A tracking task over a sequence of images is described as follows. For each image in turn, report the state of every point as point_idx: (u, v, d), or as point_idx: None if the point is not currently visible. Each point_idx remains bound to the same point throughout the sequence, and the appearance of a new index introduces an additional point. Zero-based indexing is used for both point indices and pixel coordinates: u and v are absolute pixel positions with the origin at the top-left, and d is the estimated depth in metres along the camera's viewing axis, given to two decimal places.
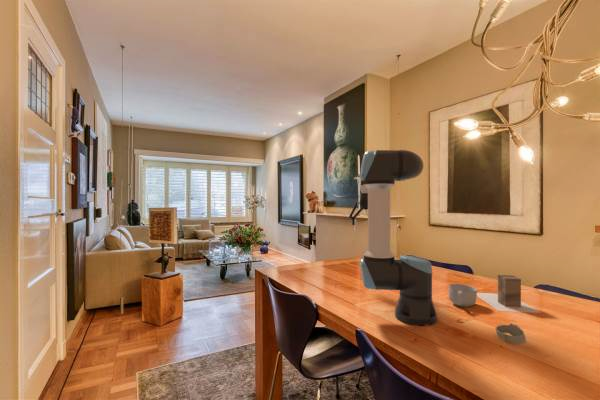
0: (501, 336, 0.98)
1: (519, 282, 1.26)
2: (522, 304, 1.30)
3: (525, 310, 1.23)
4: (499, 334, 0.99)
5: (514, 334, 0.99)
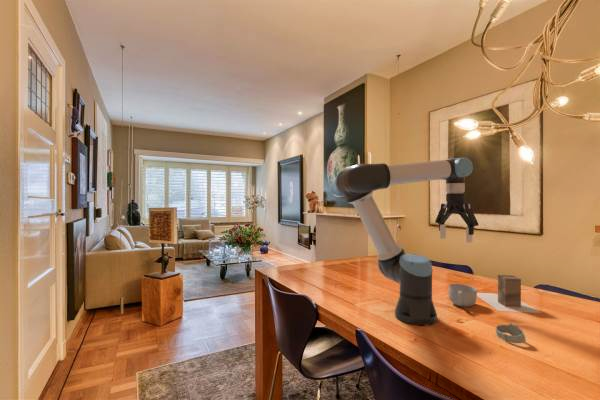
0: (501, 336, 0.99)
1: (519, 282, 1.26)
2: (522, 304, 1.30)
3: (525, 310, 1.23)
4: (499, 334, 0.99)
5: (514, 334, 0.99)
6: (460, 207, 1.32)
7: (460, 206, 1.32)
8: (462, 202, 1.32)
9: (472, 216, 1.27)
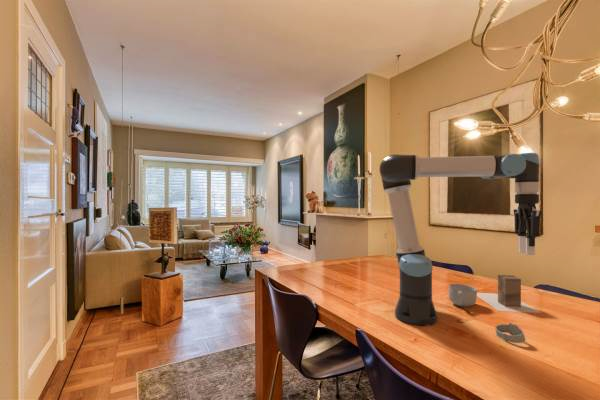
0: (500, 335, 0.99)
1: (519, 282, 1.26)
2: (522, 304, 1.30)
3: (525, 310, 1.23)
4: (498, 333, 0.99)
5: (513, 333, 1.00)
6: (528, 210, 1.14)
7: (529, 209, 1.14)
8: (532, 204, 1.13)
9: (535, 226, 1.11)
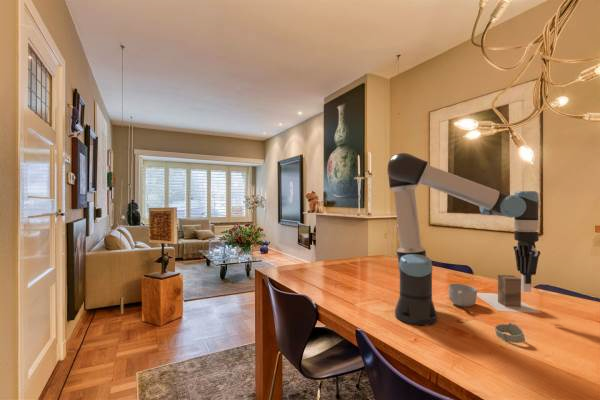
0: (500, 335, 0.99)
1: (519, 282, 1.26)
2: (522, 304, 1.30)
3: (525, 310, 1.23)
4: (498, 333, 1.00)
5: (513, 333, 1.00)
6: (528, 248, 1.15)
7: (528, 247, 1.14)
8: (531, 242, 1.14)
9: (532, 265, 1.13)
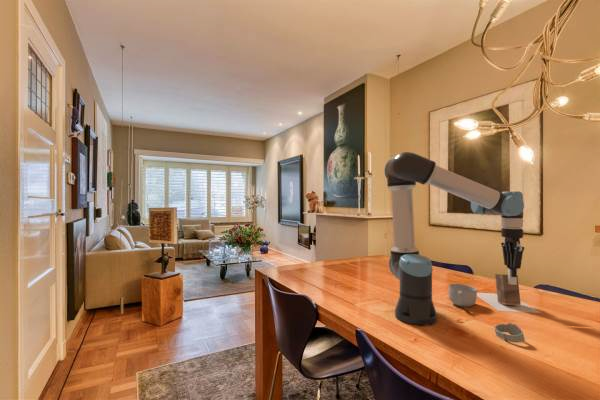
0: (500, 335, 0.99)
1: None
2: (522, 304, 1.30)
3: (525, 310, 1.23)
4: (498, 333, 1.00)
5: (513, 333, 1.00)
6: (513, 244, 1.24)
7: (513, 243, 1.24)
8: (516, 239, 1.23)
9: (517, 260, 1.23)
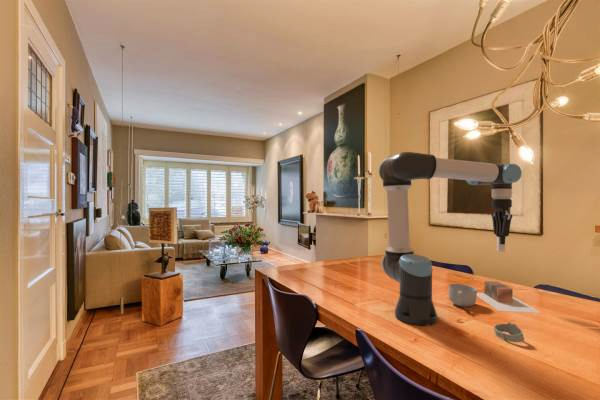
0: (499, 335, 0.99)
1: (498, 282, 1.42)
2: (522, 304, 1.30)
3: (525, 310, 1.23)
4: (497, 333, 1.00)
5: (512, 333, 1.00)
6: (502, 213, 1.32)
7: (502, 212, 1.32)
8: (505, 208, 1.31)
9: (506, 227, 1.30)
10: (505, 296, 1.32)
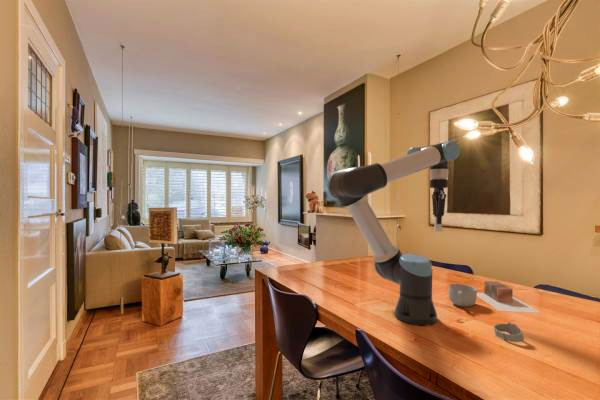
0: (499, 335, 0.99)
1: (498, 282, 1.42)
2: (522, 304, 1.30)
3: (525, 310, 1.23)
4: (497, 333, 1.00)
5: (512, 333, 1.00)
6: (438, 193, 1.34)
7: (438, 192, 1.33)
8: (440, 188, 1.33)
9: (440, 207, 1.32)
10: (505, 296, 1.32)
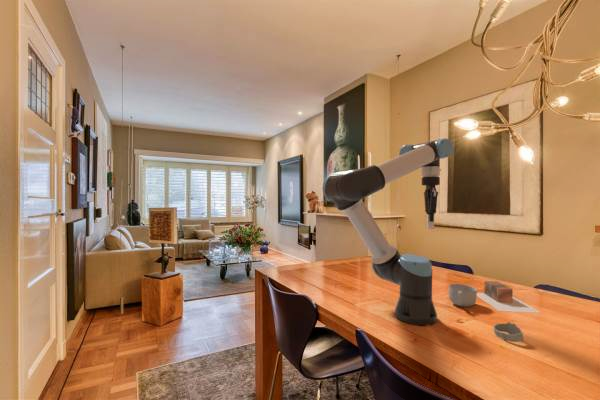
0: (499, 335, 0.99)
1: (498, 282, 1.42)
2: (522, 304, 1.30)
3: (525, 310, 1.23)
4: (497, 333, 1.00)
5: (511, 332, 1.00)
6: (430, 190, 1.34)
7: (430, 190, 1.34)
8: (432, 185, 1.33)
9: (432, 204, 1.32)
10: (505, 296, 1.32)
